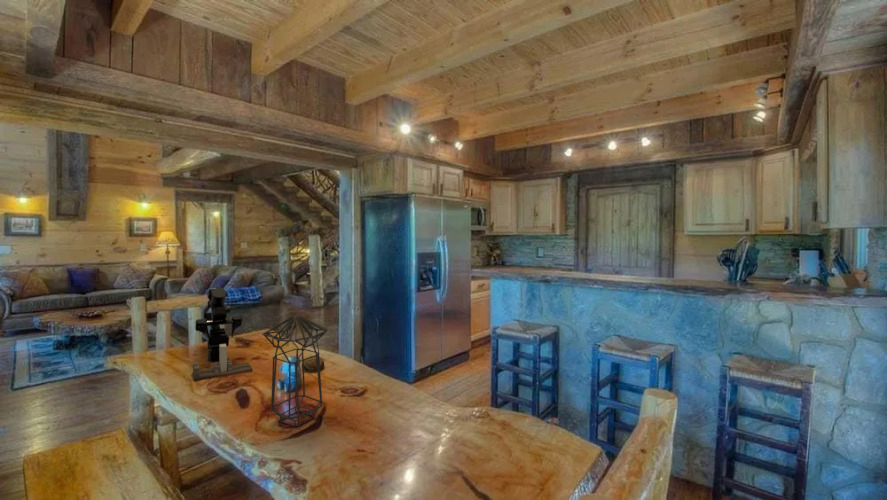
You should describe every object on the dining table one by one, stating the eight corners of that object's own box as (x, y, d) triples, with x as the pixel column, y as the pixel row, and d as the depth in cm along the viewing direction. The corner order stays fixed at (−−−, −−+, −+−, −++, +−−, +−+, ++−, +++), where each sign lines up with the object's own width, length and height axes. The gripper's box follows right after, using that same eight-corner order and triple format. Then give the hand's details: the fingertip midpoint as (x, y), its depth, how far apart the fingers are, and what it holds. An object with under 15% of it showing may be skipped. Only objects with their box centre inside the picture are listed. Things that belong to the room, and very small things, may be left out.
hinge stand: (192, 373, 170) (192, 362, 170) (248, 364, 183) (248, 353, 182) (194, 381, 161) (194, 369, 161) (252, 371, 174) (252, 360, 173)
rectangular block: (219, 368, 173) (219, 344, 173) (227, 367, 175) (227, 343, 174) (220, 372, 169) (220, 347, 169) (228, 370, 171) (228, 346, 170)
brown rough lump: (299, 378, 176) (294, 364, 173) (312, 362, 185) (307, 349, 181) (318, 380, 173) (313, 366, 170) (330, 364, 182) (326, 351, 179)
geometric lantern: (331, 416, 131) (331, 313, 129) (292, 437, 118) (291, 323, 115) (300, 405, 139) (299, 308, 137) (259, 423, 125) (258, 316, 123)
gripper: (195, 301, 175) (197, 331, 167) (241, 298, 186) (245, 325, 178) (194, 316, 182) (196, 345, 173) (239, 312, 193) (242, 339, 184)
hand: (220, 338), depth 177 cm, fingers open, 9 cm apart
